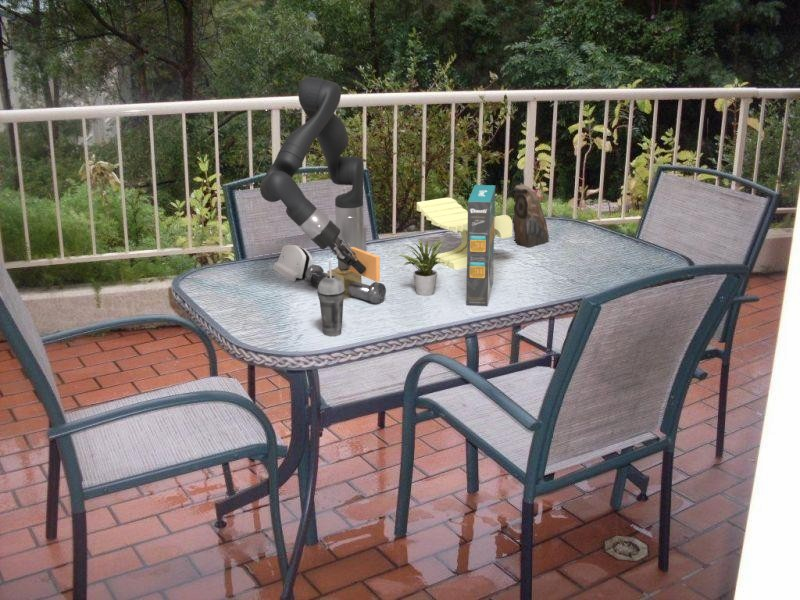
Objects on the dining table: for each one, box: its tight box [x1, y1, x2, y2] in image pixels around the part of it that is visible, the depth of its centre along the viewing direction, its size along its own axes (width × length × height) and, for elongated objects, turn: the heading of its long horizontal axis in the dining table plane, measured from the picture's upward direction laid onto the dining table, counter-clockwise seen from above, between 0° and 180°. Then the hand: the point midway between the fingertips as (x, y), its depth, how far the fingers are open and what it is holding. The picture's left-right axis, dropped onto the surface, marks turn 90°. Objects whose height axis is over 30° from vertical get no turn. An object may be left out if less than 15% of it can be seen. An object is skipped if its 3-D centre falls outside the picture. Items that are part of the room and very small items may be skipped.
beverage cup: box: [316, 260, 345, 337], centre depth 239 cm, size 7×7×20 cm
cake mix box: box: [465, 184, 496, 307], centre depth 267 cm, size 22×6×30 cm, turn 171°
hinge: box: [272, 244, 313, 283], centre depth 290 cm, size 17×5×10 cm, turn 31°
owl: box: [512, 182, 550, 249], centre depth 321 cm, size 13×13×20 cm
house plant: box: [399, 238, 445, 297], centre depth 271 cm, size 14×14×16 cm
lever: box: [337, 243, 381, 282], centre depth 263 cm, size 19×4×7 cm, turn 37°
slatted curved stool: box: [416, 197, 513, 270], centre depth 301 cm, size 30×16×18 cm, turn 34°
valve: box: [305, 264, 387, 305], centre depth 271 cm, size 7×28×8 cm, turn 48°
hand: (363, 271), depth 259 cm, fingers closed
